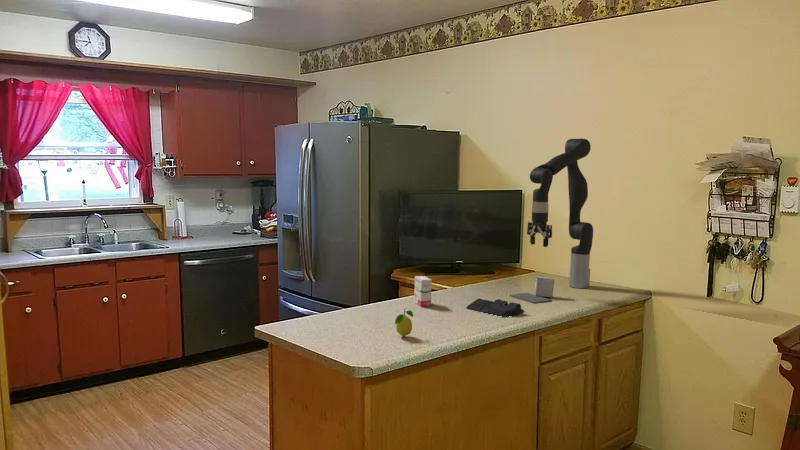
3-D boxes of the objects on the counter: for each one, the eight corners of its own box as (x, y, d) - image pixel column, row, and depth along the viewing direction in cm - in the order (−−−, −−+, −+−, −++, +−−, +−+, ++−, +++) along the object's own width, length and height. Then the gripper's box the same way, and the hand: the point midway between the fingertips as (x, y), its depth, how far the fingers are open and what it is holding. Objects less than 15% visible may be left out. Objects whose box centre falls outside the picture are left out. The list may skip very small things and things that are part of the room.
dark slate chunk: (483, 303, 255) (483, 293, 255) (527, 313, 240) (527, 302, 240) (462, 309, 244) (463, 298, 243) (507, 319, 229) (507, 308, 229)
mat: (527, 293, 275) (527, 292, 275) (551, 301, 261) (551, 299, 261) (509, 295, 269) (509, 294, 269) (533, 303, 256) (533, 302, 256)
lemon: (413, 334, 204) (413, 306, 203) (414, 339, 199) (414, 311, 198) (394, 334, 204) (395, 306, 203) (394, 339, 198) (395, 310, 197)
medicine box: (550, 296, 271) (552, 278, 271) (552, 297, 267) (554, 279, 266) (533, 294, 272) (535, 276, 271) (535, 295, 267) (537, 277, 267)
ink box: (431, 306, 246) (432, 279, 244) (420, 307, 244) (421, 279, 243) (423, 301, 254) (424, 275, 252) (413, 302, 252) (414, 276, 251)
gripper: (557, 212, 265) (555, 247, 267) (535, 209, 278) (534, 242, 279) (544, 213, 262) (543, 248, 263) (523, 210, 274) (522, 244, 276)
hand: (538, 245), depth 271 cm, fingers open, 8 cm apart
